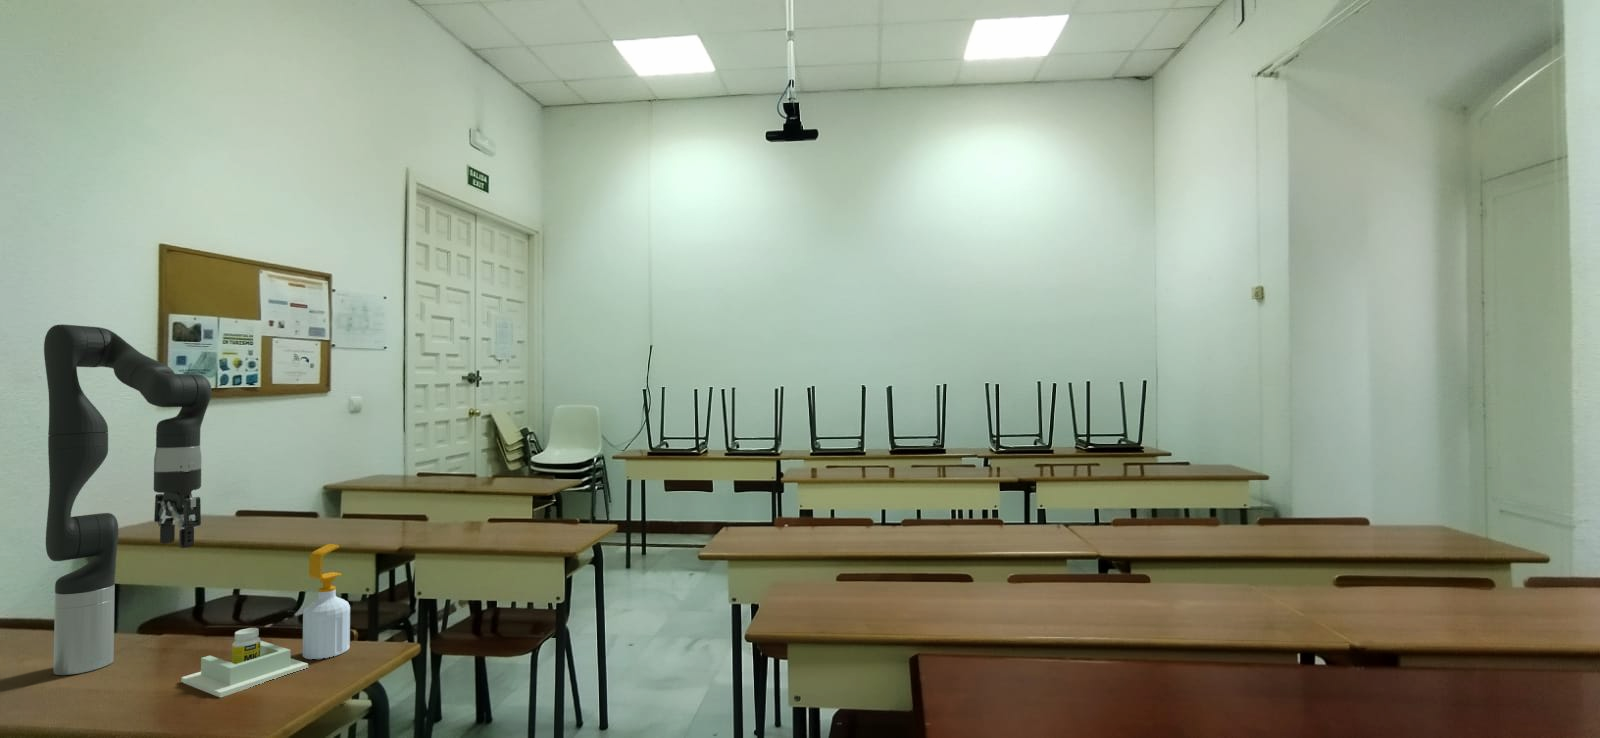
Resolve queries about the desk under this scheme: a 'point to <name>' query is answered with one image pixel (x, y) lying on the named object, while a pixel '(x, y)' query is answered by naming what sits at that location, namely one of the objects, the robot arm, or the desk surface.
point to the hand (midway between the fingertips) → (176, 545)
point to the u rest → (243, 671)
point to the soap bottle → (325, 614)
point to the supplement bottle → (246, 645)
